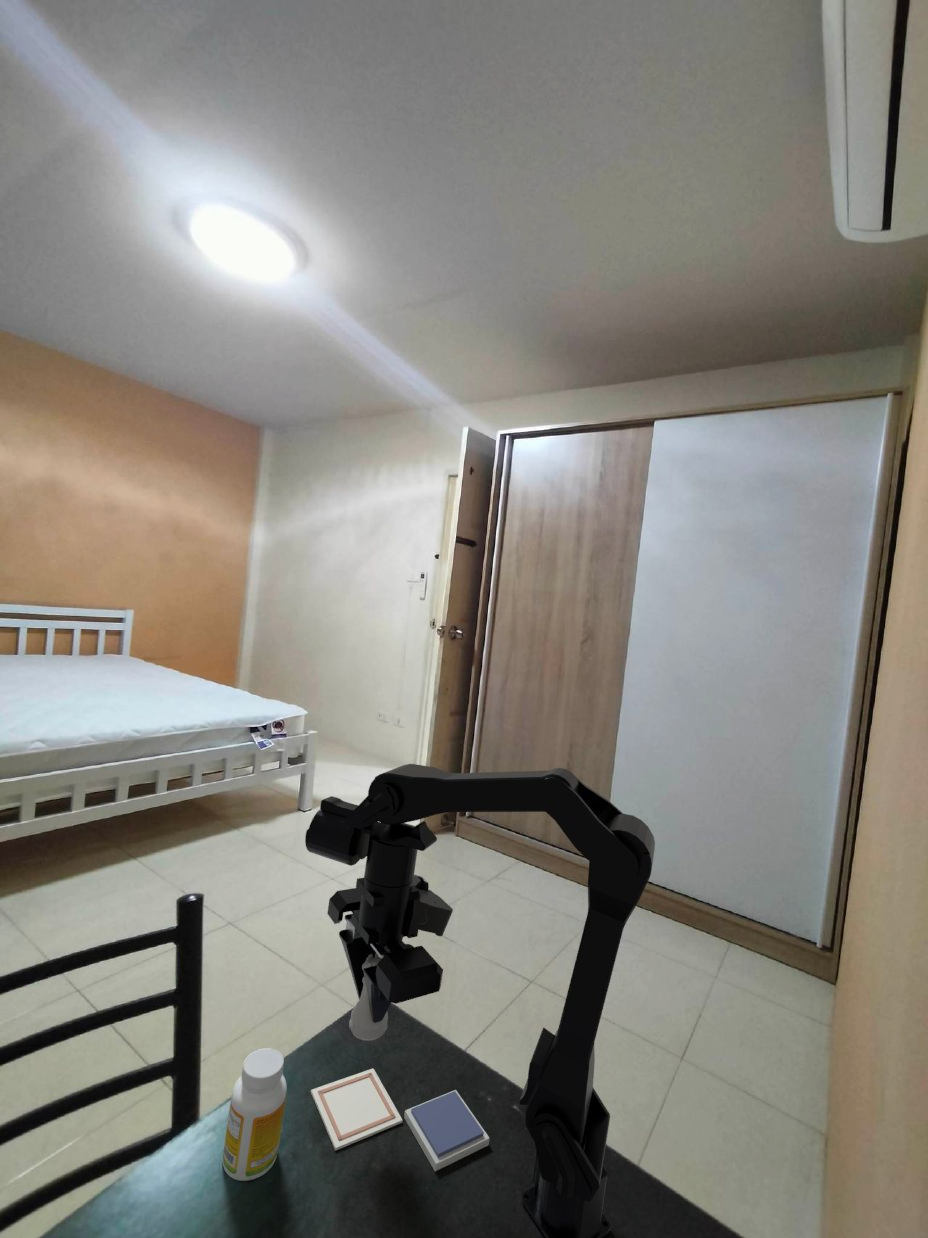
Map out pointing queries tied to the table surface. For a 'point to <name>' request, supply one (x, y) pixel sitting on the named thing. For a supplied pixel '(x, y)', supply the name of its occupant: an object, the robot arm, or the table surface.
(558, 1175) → the robot arm
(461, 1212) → the table surface
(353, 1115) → the marked square board
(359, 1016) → the rook chess piece
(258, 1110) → the supplement bottle
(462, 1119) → the ink pad
